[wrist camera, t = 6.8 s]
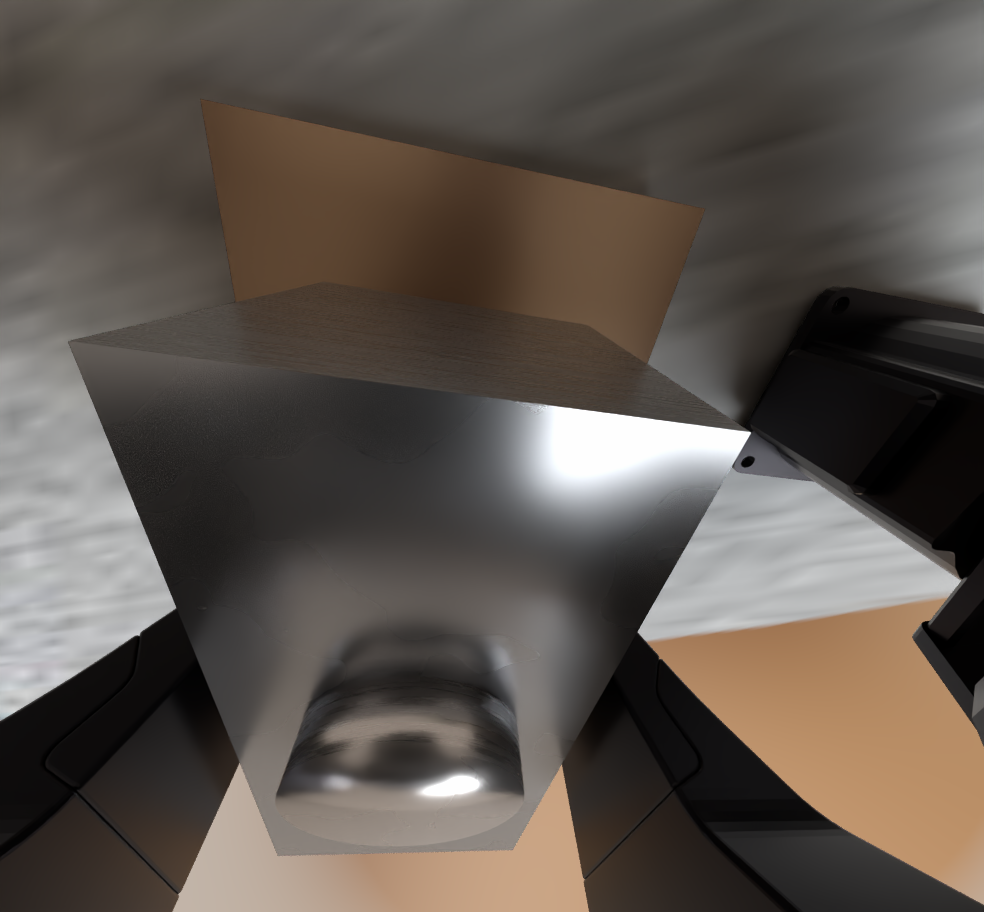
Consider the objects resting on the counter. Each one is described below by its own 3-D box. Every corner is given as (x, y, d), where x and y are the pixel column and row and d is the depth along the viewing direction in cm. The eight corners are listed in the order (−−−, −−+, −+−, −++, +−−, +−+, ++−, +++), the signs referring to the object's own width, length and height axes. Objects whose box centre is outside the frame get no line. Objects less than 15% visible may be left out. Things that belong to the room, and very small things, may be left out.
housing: (498, 646, 13) (516, 903, 8) (346, 639, 12) (258, 915, 7) (587, 324, 7) (830, 485, 2) (323, 280, 7) (-89, 378, 2)
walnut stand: (654, 216, 10) (705, 208, 8) (530, 601, 18) (539, 651, 16) (267, 135, 9) (200, 98, 6) (317, 588, 16) (294, 640, 14)
